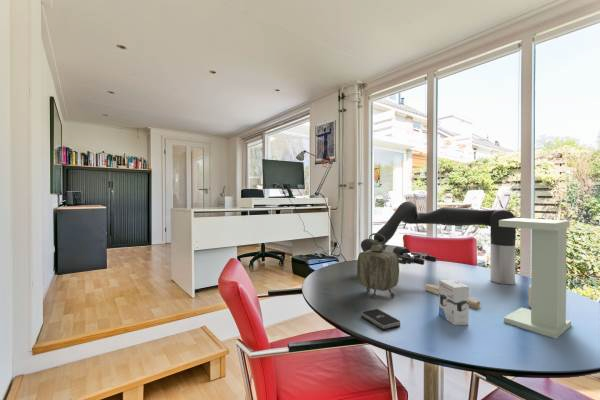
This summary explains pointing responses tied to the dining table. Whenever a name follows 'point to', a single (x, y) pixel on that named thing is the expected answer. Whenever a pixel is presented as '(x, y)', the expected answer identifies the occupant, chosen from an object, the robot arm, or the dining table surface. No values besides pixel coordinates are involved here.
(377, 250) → the tabletop clock
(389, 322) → the external hard drive
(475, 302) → the ash rod
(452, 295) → the ink box
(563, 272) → the shelf stand
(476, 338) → the dining table surface
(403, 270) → the dining table surface
